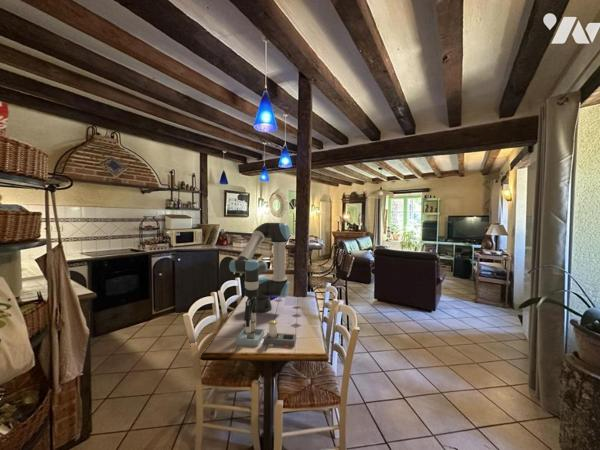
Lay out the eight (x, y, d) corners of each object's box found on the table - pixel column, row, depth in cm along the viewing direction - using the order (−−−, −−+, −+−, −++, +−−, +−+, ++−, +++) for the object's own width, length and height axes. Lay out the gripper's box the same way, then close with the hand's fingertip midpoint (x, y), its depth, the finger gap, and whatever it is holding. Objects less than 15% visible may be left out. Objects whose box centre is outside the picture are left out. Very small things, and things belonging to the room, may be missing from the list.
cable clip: (272, 300, 213) (272, 293, 213) (268, 299, 215) (268, 292, 215) (281, 297, 222) (281, 290, 222) (277, 296, 225) (277, 289, 225)
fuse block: (267, 337, 145) (267, 332, 145) (296, 339, 143) (296, 334, 143) (263, 345, 135) (263, 340, 135) (294, 347, 134) (294, 342, 134)
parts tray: (244, 333, 150) (244, 327, 150) (264, 334, 149) (264, 329, 149) (235, 344, 136) (235, 338, 136) (257, 345, 135) (258, 340, 135)
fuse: (269, 337, 143) (270, 319, 142) (277, 338, 142) (277, 320, 142) (268, 341, 138) (268, 322, 138) (276, 341, 138) (276, 323, 138)
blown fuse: (247, 335, 145) (249, 318, 145) (255, 336, 145) (257, 319, 144) (245, 339, 140) (246, 321, 140) (253, 340, 140) (254, 322, 140)
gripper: (250, 283, 154) (250, 319, 154) (238, 293, 131) (237, 336, 132) (263, 283, 153) (262, 320, 153) (252, 294, 130) (251, 337, 131)
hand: (250, 328), depth 142 cm, fingers open, 10 cm apart
